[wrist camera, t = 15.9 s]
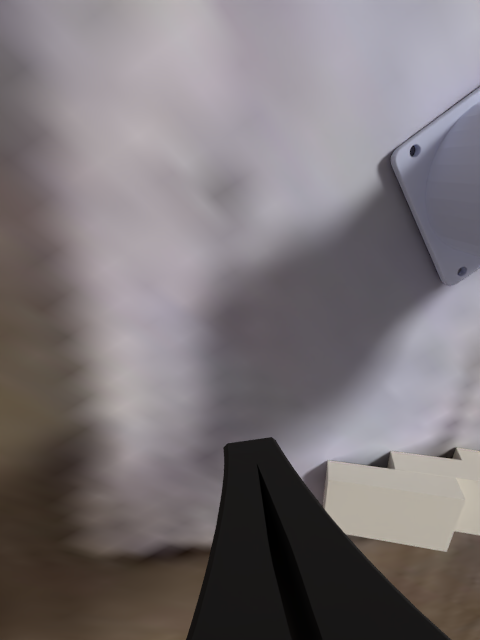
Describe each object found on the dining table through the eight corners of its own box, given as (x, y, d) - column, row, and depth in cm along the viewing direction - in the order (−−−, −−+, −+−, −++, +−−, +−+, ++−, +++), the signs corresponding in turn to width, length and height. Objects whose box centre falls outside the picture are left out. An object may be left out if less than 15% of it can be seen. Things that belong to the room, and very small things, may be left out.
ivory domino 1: (327, 460, 23) (455, 477, 22) (322, 509, 25) (438, 528, 24) (328, 479, 22) (465, 499, 20) (322, 529, 24) (446, 551, 22)
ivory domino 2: (390, 451, 24) (520, 467, 22) (380, 499, 26) (497, 518, 24) (395, 469, 22) (533, 488, 21) (383, 519, 25) (508, 540, 23)
